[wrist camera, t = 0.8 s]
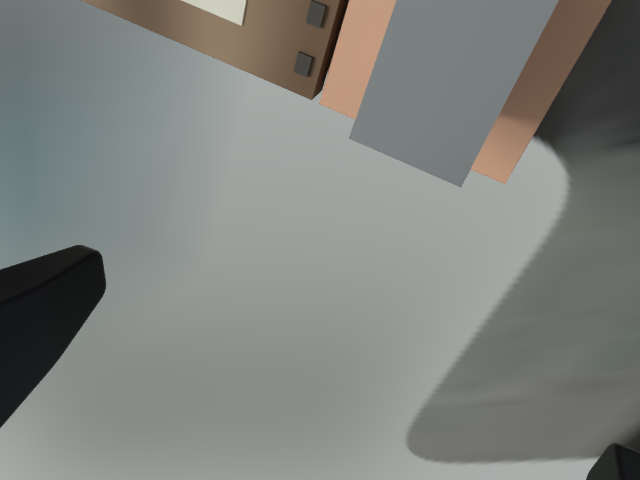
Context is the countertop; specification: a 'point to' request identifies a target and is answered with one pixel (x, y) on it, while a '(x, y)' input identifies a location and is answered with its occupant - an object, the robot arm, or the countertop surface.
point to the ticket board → (248, 34)
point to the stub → (455, 77)
